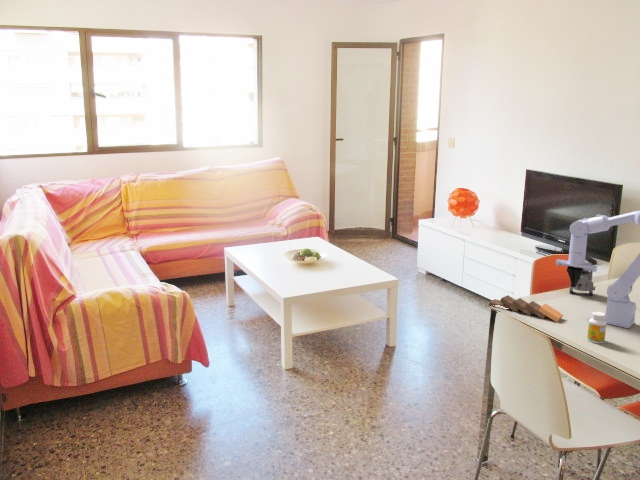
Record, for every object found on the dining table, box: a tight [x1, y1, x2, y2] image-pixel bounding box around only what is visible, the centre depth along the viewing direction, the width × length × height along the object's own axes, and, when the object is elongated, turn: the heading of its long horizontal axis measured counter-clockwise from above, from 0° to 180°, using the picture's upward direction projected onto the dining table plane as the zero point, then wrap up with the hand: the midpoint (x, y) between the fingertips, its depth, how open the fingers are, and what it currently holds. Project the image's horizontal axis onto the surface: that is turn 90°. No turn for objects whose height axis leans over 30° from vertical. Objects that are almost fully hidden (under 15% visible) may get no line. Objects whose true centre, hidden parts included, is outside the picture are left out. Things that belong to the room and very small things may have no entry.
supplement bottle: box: [586, 311, 607, 344], centre depth 203 cm, size 5×5×10 cm
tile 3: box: [513, 297, 534, 316], centre depth 230 cm, size 2×5×8 cm
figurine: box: [568, 259, 596, 297], centre depth 250 cm, size 9×12×15 cm
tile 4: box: [499, 294, 521, 313], centre depth 234 cm, size 2×5×8 cm
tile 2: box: [526, 300, 547, 320], centre depth 227 cm, size 2×5×8 cm
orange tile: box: [538, 303, 564, 323], centre depth 224 cm, size 2×5×8 cm
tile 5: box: [488, 298, 509, 308], centre depth 237 cm, size 2×5×8 cm
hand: (573, 286), depth 229 cm, fingers closed
